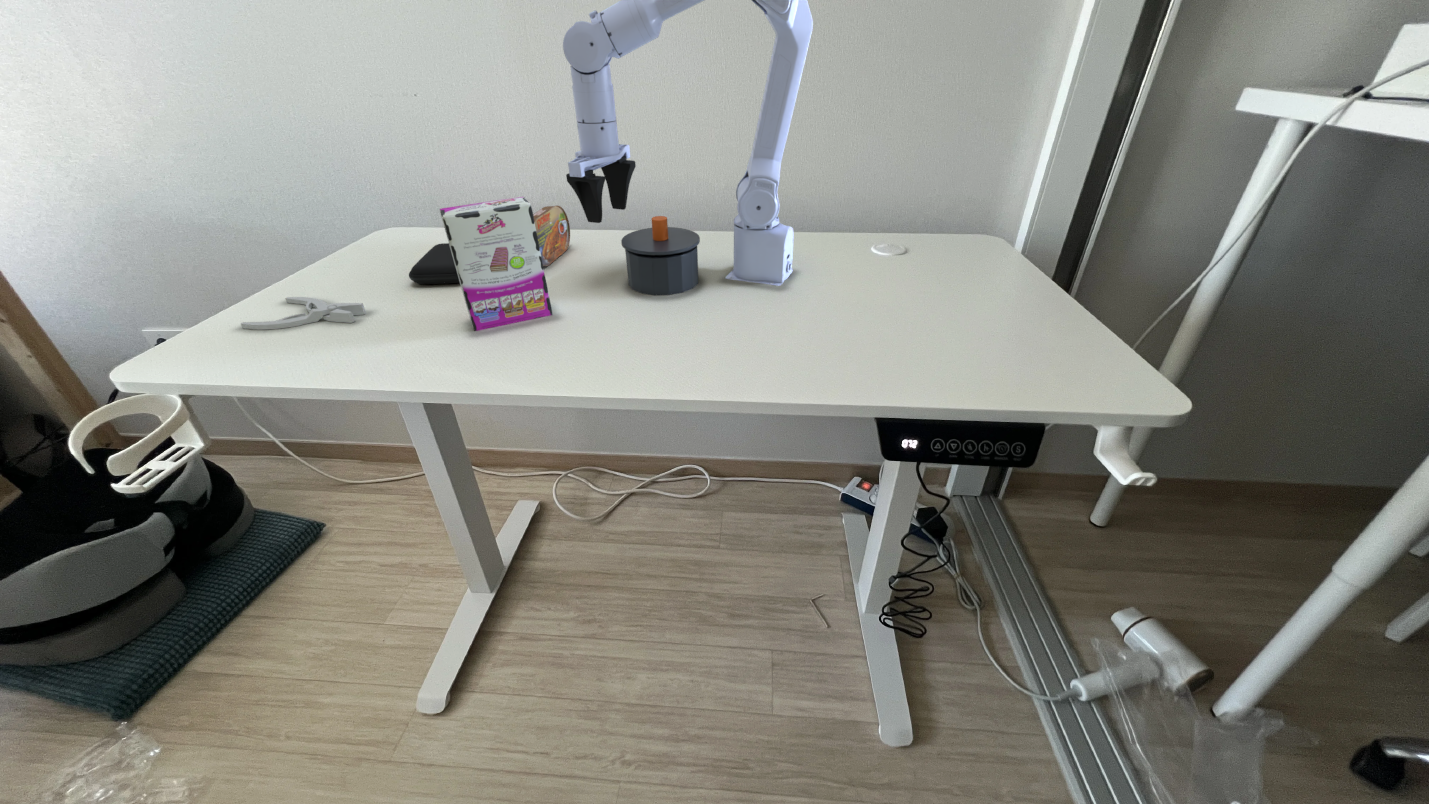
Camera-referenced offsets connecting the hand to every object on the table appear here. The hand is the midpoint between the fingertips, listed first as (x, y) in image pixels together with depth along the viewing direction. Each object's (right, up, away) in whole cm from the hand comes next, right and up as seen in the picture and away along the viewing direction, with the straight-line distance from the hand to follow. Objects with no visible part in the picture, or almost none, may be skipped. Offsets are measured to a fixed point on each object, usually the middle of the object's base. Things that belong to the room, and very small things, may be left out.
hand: (607, 215), depth 93 cm
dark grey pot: (+9, -10, +3) cm, 14 cm away
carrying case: (-28, -7, +10) cm, 31 cm away
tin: (-13, -3, +14) cm, 20 cm away
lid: (+9, -5, -1) cm, 10 cm away
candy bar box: (-13, -18, -7) cm, 23 cm away
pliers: (-43, -17, -5) cm, 46 cm away
